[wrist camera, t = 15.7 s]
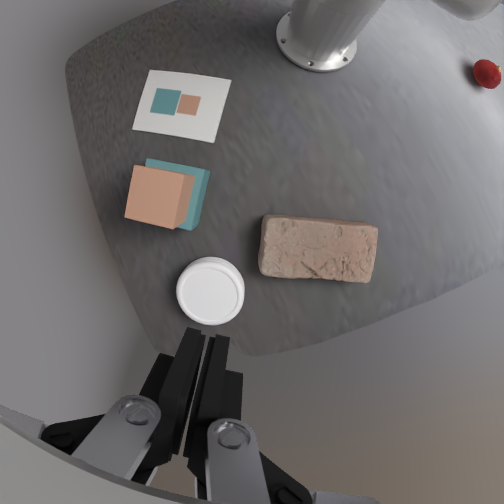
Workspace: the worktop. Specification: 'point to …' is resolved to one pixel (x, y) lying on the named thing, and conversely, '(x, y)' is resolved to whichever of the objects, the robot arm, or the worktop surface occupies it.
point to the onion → (487, 74)
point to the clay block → (159, 196)
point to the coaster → (210, 291)
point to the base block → (197, 190)
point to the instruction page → (182, 105)
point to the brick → (317, 248)
